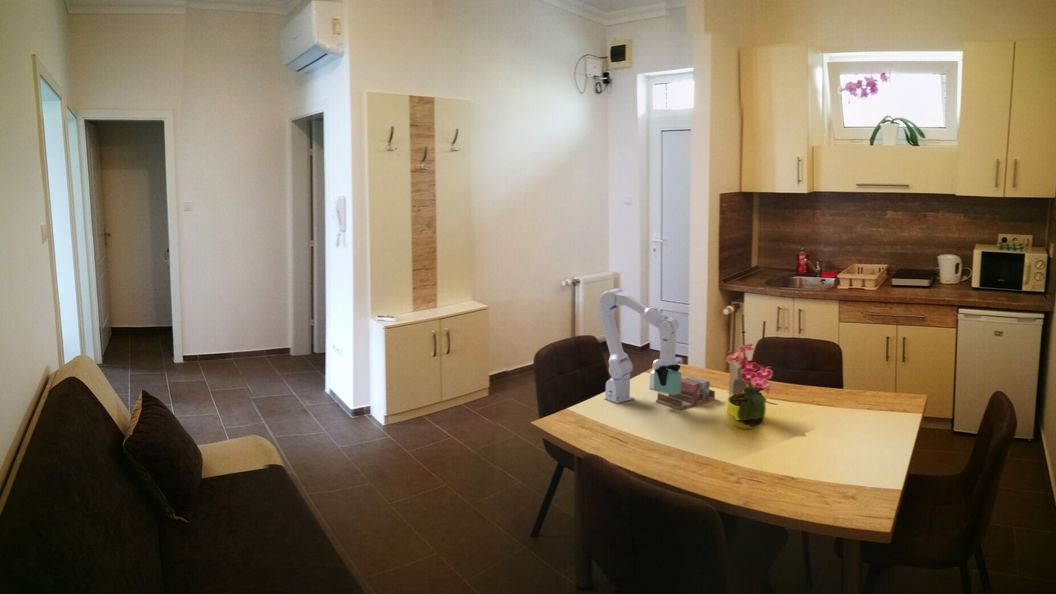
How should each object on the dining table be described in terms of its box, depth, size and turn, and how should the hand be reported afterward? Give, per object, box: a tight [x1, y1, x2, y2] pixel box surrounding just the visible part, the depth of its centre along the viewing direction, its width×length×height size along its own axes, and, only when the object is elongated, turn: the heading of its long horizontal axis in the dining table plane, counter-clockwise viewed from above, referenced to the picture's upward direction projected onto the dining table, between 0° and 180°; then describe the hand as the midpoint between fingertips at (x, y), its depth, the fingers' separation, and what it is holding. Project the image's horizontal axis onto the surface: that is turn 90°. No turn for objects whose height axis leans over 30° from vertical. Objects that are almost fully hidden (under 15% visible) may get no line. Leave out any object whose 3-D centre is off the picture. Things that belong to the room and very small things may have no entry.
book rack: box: [655, 375, 716, 411], centre depth 281 cm, size 21×12×8 cm, turn 127°
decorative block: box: [728, 359, 746, 396], centre depth 262 cm, size 11×6×20 cm, turn 177°
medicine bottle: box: [648, 358, 667, 391], centre depth 298 cm, size 7×7×12 cm
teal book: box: [653, 369, 682, 395], centre depth 272 cm, size 4×10×8 cm, turn 36°
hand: (667, 384), depth 273 cm, fingers closed on teal book, 4 cm apart
